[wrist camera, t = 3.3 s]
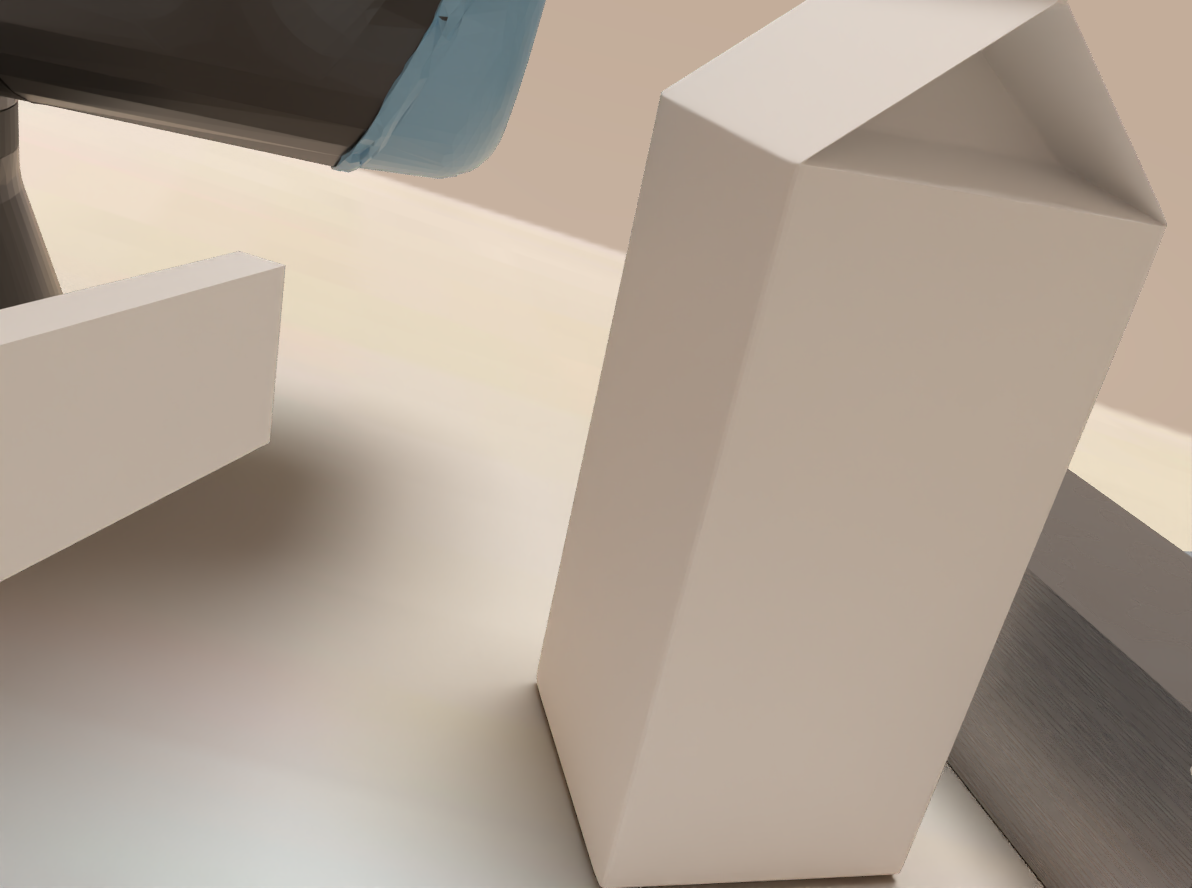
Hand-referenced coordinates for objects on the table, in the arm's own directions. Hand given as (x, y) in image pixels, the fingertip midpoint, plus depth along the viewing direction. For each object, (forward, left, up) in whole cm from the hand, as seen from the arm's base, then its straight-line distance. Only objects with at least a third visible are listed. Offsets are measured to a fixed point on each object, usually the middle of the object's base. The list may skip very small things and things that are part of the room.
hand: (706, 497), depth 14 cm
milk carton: (-7, +6, -11) cm, 15 cm away
